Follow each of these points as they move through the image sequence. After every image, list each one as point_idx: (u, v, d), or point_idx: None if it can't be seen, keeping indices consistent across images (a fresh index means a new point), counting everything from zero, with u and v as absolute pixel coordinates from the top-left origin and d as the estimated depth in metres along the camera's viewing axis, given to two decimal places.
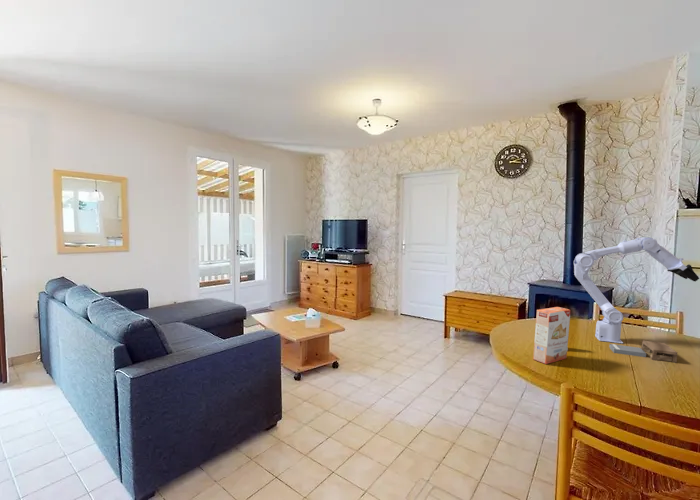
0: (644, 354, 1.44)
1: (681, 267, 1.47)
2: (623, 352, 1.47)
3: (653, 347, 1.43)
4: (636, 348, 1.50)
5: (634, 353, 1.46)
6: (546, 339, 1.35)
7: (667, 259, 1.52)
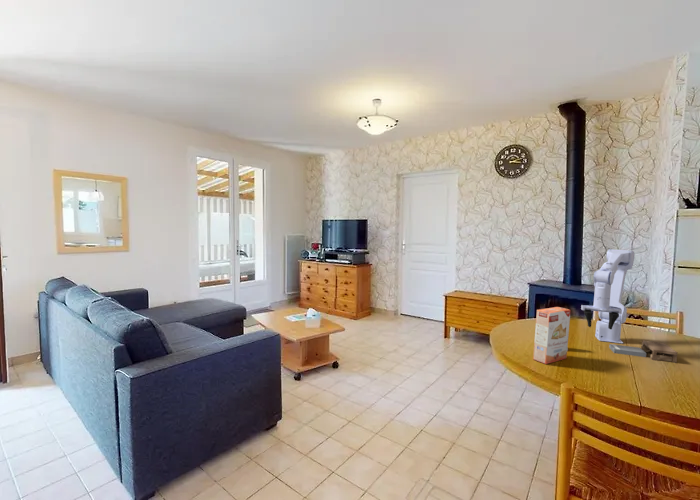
0: (644, 354, 1.45)
1: (581, 306, 1.55)
2: (623, 352, 1.47)
3: (653, 347, 1.43)
4: (636, 348, 1.50)
5: (634, 353, 1.46)
6: (546, 339, 1.35)
7: (594, 297, 1.53)
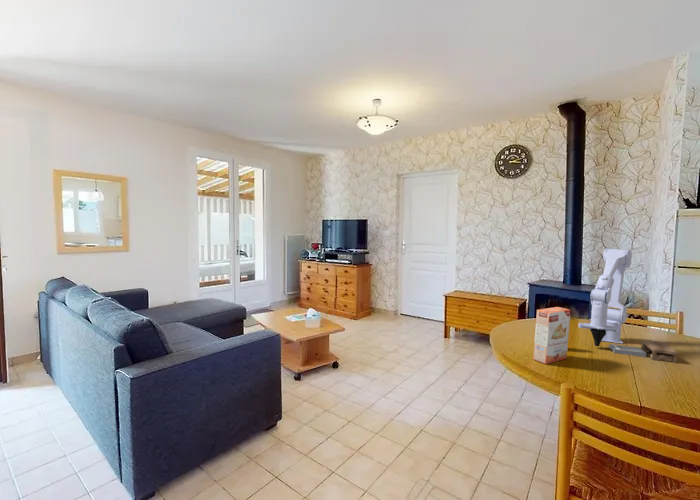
0: (644, 354, 1.45)
1: None
2: (623, 352, 1.47)
3: (653, 347, 1.43)
4: (636, 348, 1.50)
5: (634, 353, 1.46)
6: (546, 339, 1.35)
7: (591, 316, 1.54)
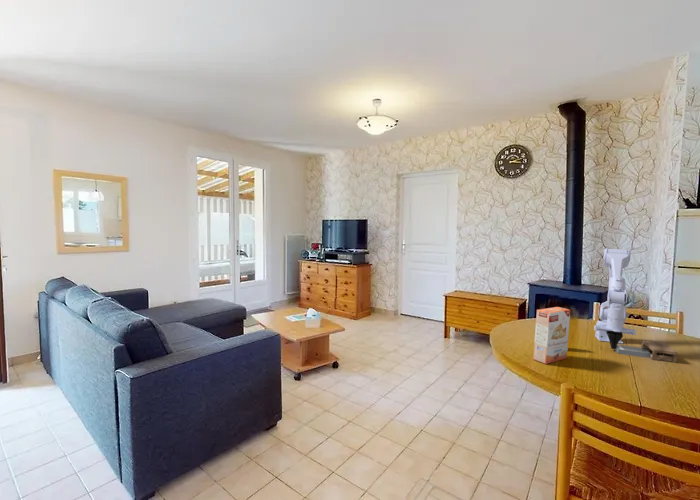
0: (649, 354, 1.44)
1: (594, 326, 1.54)
2: (627, 352, 1.47)
3: (653, 347, 1.43)
4: (640, 348, 1.49)
5: (638, 353, 1.45)
6: (546, 339, 1.35)
7: (607, 318, 1.52)
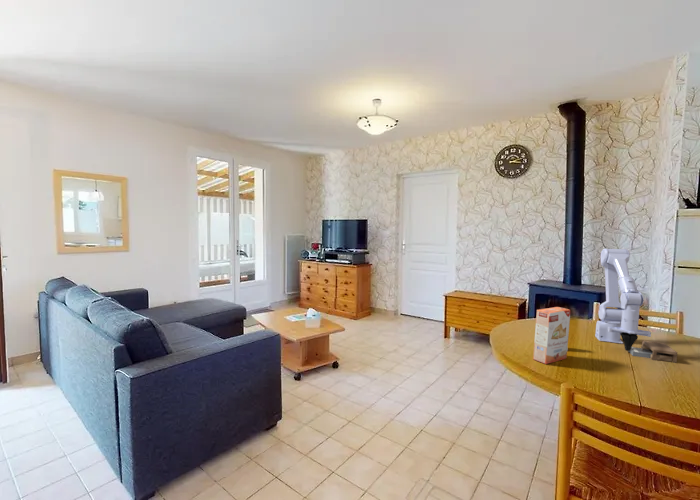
0: None
1: (608, 328, 1.52)
2: (642, 355, 1.44)
3: (653, 347, 1.43)
4: None
5: None
6: (546, 339, 1.35)
7: (621, 319, 1.50)
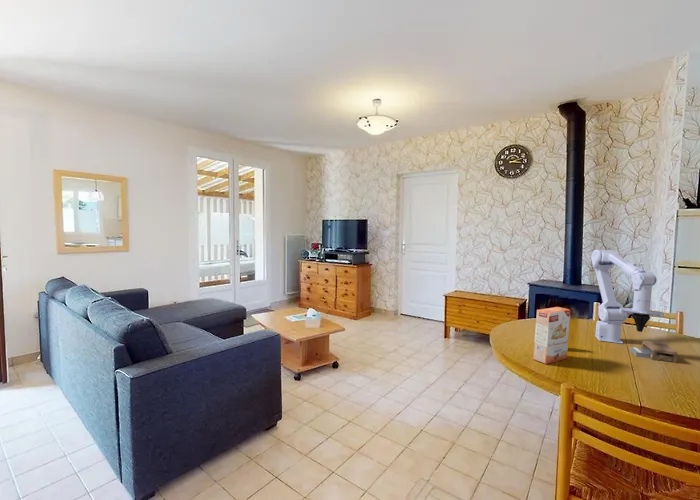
0: None
1: (619, 309, 1.51)
2: (645, 355, 1.44)
3: (653, 347, 1.43)
4: None
5: None
6: (546, 339, 1.35)
7: (633, 300, 1.49)
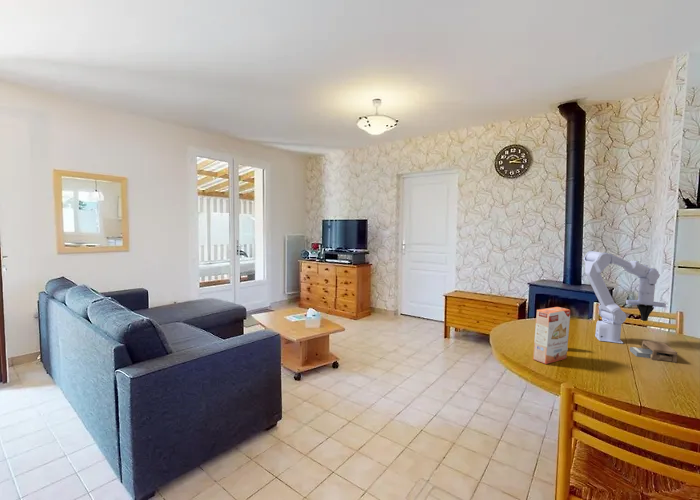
0: None
1: (626, 301, 1.67)
2: (646, 355, 1.44)
3: (653, 347, 1.43)
4: None
5: None
6: (546, 339, 1.35)
7: (638, 292, 1.65)
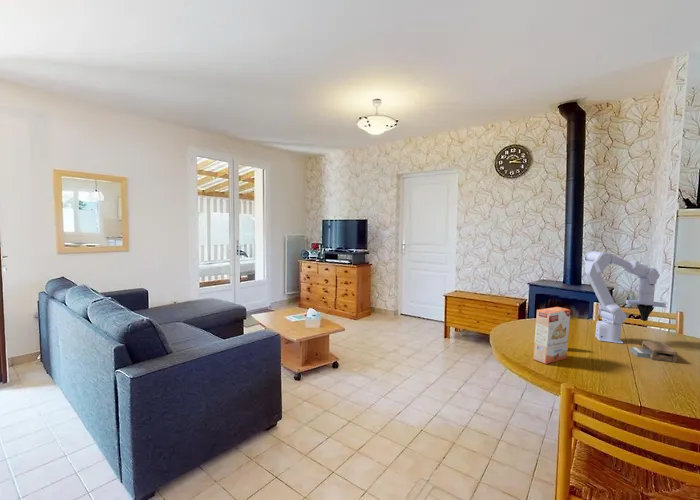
0: None
1: (626, 301, 1.67)
2: (646, 356, 1.44)
3: (653, 347, 1.43)
4: None
5: None
6: (546, 339, 1.35)
7: (638, 292, 1.65)
